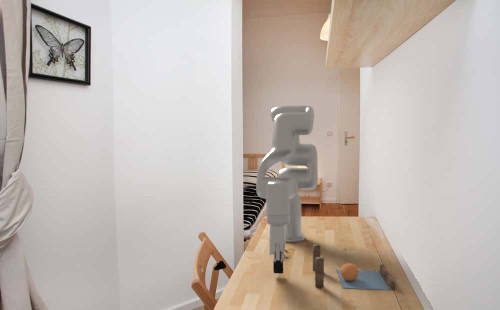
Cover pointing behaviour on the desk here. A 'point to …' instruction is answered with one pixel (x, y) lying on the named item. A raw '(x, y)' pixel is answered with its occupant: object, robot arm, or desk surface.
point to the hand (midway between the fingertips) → (278, 272)
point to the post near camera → (319, 272)
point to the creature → (284, 255)
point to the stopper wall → (387, 277)
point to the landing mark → (365, 281)
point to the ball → (349, 272)
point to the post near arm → (315, 253)
